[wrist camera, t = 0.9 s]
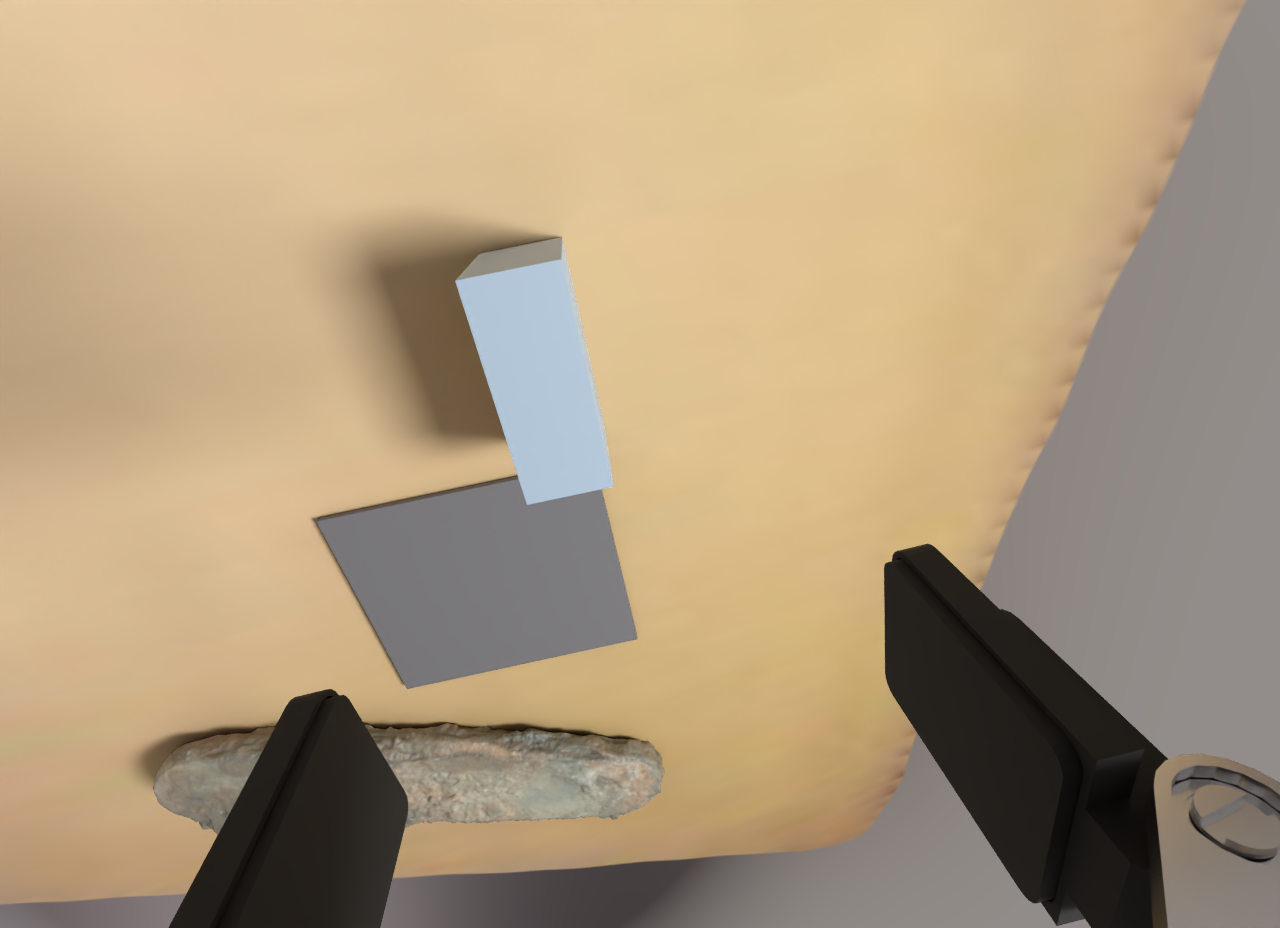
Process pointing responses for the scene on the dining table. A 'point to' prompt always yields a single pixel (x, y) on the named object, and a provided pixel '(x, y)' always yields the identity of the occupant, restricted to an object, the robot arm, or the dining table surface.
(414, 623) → the mat
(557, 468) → the pale blue upright box
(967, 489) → the dining table surface
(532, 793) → the elongated rough stone
